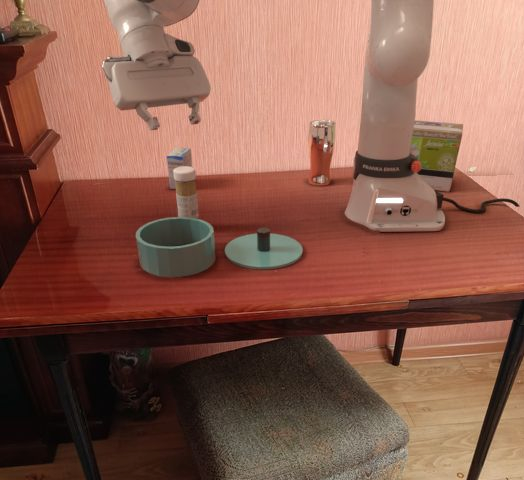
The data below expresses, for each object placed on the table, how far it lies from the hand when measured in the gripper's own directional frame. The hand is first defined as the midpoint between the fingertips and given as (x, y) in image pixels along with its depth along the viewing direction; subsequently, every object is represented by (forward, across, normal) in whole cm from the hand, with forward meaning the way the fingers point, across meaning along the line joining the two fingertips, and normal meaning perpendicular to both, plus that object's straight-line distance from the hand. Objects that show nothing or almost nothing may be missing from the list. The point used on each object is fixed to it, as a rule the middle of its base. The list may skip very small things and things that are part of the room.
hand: (176, 125), depth 101 cm
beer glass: (+14, +47, +15) cm, 51 cm away
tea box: (+25, +66, -1) cm, 70 cm away
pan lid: (+28, +6, -3) cm, 29 cm away
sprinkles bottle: (+18, +2, +14) cm, 22 cm away
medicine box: (+2, +18, +35) cm, 39 cm away
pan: (+24, -8, +5) cm, 26 cm away
